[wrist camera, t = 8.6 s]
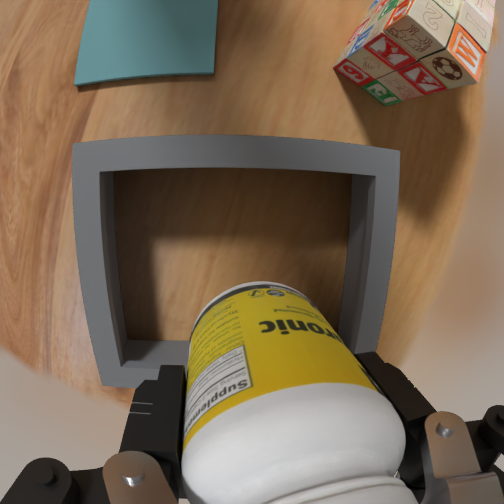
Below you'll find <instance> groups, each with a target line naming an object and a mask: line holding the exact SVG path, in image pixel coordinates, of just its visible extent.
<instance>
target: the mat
mask: <svg viewBox="0 0 504 504" xmlns="http://www.w3.org/2000/svg"><path fill="white" fill-rule="evenodd" d="M217 11H218V0H90V3H89V7H88V11H87V15H86V20H85V24H84V28H83V33H82V38H81V43H80V49H79V54H78V60H77V67H76V73H75V81H74V85H75V86H82V85H88V84H94V83H101V82H108V81H116V80H124V79H133V78H144V77H157V76H175V75H213V74H214V56H215V39H216V25H217Z"/></svg>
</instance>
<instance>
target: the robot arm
mask: <svg viewBox="0 0 504 504" xmlns="http://www.w3.org/2000/svg"><path fill="white" fill-rule="evenodd" d="M353 355H354V357H355V358H356V359H357V361H358V362H359V363H360V364H361V366H362V367H363V368H364V369H365V371H366V372H367V373H368V375H369V376H370V377H371V378H372V380H373V381H374V382H375V383H376V385H377V386H378V387H379V389H380V390H381V391H382V392H383V394H384V395H385V396H386V397H387V399H388V400H389V401H390V402H391V403H392V406H393V408H394V409H395V411H396V412H397V414H398V415H399V417H400V419H401V421H402V424H403V427H404V431H405V437H406V445H405V451H404V455H403V459H402V461H401V464H400V466H399V468H398V470H397V471H398V473H397V475H396V478H398V479H400V480H402V481H403V482H404V483H405V485H406V487H407V488H409V489H410V490H411V491H412V493H413V494H414V496H415V498H416V500H417V502H418V504H504V472H503V471H501V469H499V468H498V467H497V466H496V465H494V463H495V462H496V460H497V459H498V457H499V456H500V455H501V453H502V454H503V455H504V406H502V405H495V406H492V407H490V408H489V409H488V410H487V412H486V414H485V415H484V417H483V419H482V420H476V421H468V422H464V421H463V419H462V418H460V417H459V416H458V415H456V414H454V413H451V412H444V411H440V412H437V411H436V410H435V409H434V408H433V407H432V405H431V404H430V403H429V402H428V401H427V400H426V399H425V398H424V396H423V395H422V394H421V393H420V392H419V391H418V389H417V388H416V387H415V388H414V385H413V384H412V383H411V382H410V380H408V379H407V377H406V376H405V375H404V374H403V373H402V371H401V370H400V369H398V368H396V367H394V366H393V365H391V364H389V363H384V361H383V360H382V359H381V358H380V357H379V356H378V354H377V353H376V352H374V351H371V352H365V353H358V354H353ZM185 390H186V372H185V366H184V365H161V366H160V370H159V374H158V379H157V380H144V381H143V382H142V383H141V384H140V385H139V386H138V387H137V389H136V390H135V393H134V397H133V400H132V404H131V408H130V414H129V415H128V419H127V423H126V426H125V430H124V434H123V438H122V442H121V446H120V450H119V453H118V454H115V455H114V456H112V457H111V458H109V459H108V460H107V462H106V463H105V465H104V466H103V467H100V468H97V469H90V470H79V471H69V469H68V468H67V467H66V466H65V464H63V463H62V462H60V461H58V460H56V459H53V458H39V459H36V460H33V461H31V462H30V463H29V464H27V465H26V467H25V468H24V469H23V470H22V472H21V473H20V475H19V476H18V478H17V479H16V480H15V482H14V483H13V485H12V486H11V488H10V489H9V490H8V492H7V493H6V495H5V496H4V498H3V499H2V500H1V502H0V504H178V503H179V502H178V501H179V498H184V499H187V497H186V495H185V492H184V488H183V484H182V473H181V456H182V437H183V418H184V404H185Z"/></svg>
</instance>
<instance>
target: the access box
mask: <svg viewBox="0 0 504 504" xmlns="http://www.w3.org/2000/svg"><path fill="white" fill-rule="evenodd" d="M164 168H263V169H288V170H307V171H322V172H336V173H348V174H352V190H351V209H350V223H349V236H348V248H347V259H346V268H345V278H344V286H343V295H342V302H341V310H340V317H339V324H338V331H337V335H338V336H339V337H340V338H341V340H342V341H343V342H344V344H345V345H346V346H347V348H348V349H349V350H350V351H351V353H352V354H358V353H365V352H371V351H374V352H376V348H377V344H378V339H379V335H380V330H381V325H382V320H383V315H384V309H385V304H386V298H387V292H388V286H389V280H390V273H391V266H392V258H393V250H394V241H395V232H396V222H397V210H398V195H399V176H400V151H399V150H393V149H386V148H380V147H373V146H366V145H359V144H351V143H343V142H334V141H325V140H314V139H303V138H290V137H274V136H252V135H169V136H148V137H132V138H119V139H108V140H98V141H89V142H81V143H73V155H72V187H73V213H74V229H75V241H76V251H77V260H78V268H79V276H80V283H81V290H82V296H83V302H84V308H85V313H86V319H87V324H88V329H89V333H90V338H91V342H92V347H93V351H94V355H95V359H96V363H97V367H98V371H99V375H100V378H101V382H102V385H103V386H113V387H125V388H137V387H138V386H139V385H140V384H141V383H142V382H143V381H144V380H157V379H158V374H159V370H160V366H161V365H184V366H185V372H186V378H187V365H188V354H189V345H190V341H157V340H128V338H127V332H126V326H125V319H124V312H123V305H122V297H121V289H120V280H119V271H118V260H117V248H116V234H115V214H114V171H122V170H140V169H164Z"/></svg>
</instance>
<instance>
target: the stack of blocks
mask: <svg viewBox="0 0 504 504" xmlns="http://www.w3.org/2000/svg"><path fill="white" fill-rule="evenodd" d="M494 8H495V0H375V2H374V3H373V5H372V6H371V8H370V10H369V11H368V13H367V15H366V16H365V18H364V20H363V21H362V23H361V24H360V26H359V27H358V28H357V30H356V31H355V33H354V34H353V36H352V38H351V39H350V41H349V42H348V44H347V46H346V47H345V48H344V50H343V52H342V53H341V55H340V56H339V58H338V60H337V61H336V63H335V65H334V66H333V68H334V69H335V70H336V71H338V72H339V73H341V74H342V75H344V76H345V77H347V78H348V79H350V80H351V81H352V82H354V83H355V84H357V85H358V86H360V87H362V88H363V89H364V90H366V91H367V92H368V93H370V94H371V95H372V96H373V97H375V98H376V99H377V100H379V101H380V102H381V103H382V104H384V105H385V106H389V105H393V104H397V103H400V102H403V101H404V100H408V99H412V98H416V97H419V96H422V95H430V94H434V93H438V92H441V91H447V90H449V89H451V88H456V87H462V86H466V85H471V84H476V83H478V82H479V79H480V75H481V71H482V67H483V64H484V59H485V54H486V53H487V52H488V49H489V45H490V39H491V33H492V28H493V20H494V13H495V10H494Z"/></svg>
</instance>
